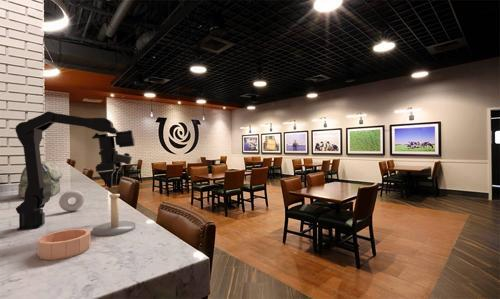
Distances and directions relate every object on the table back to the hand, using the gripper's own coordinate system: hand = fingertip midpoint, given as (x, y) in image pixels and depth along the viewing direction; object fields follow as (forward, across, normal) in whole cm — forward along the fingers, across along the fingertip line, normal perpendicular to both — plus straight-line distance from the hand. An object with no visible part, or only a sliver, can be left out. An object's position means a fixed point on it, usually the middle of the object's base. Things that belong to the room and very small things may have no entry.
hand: (112, 186), depth 104 cm
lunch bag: (+8, +77, +56) cm, 96 cm away
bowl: (+13, -30, +8) cm, 34 cm away
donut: (+12, +22, +23) cm, 34 cm away
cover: (+14, -13, -2) cm, 20 cm away
